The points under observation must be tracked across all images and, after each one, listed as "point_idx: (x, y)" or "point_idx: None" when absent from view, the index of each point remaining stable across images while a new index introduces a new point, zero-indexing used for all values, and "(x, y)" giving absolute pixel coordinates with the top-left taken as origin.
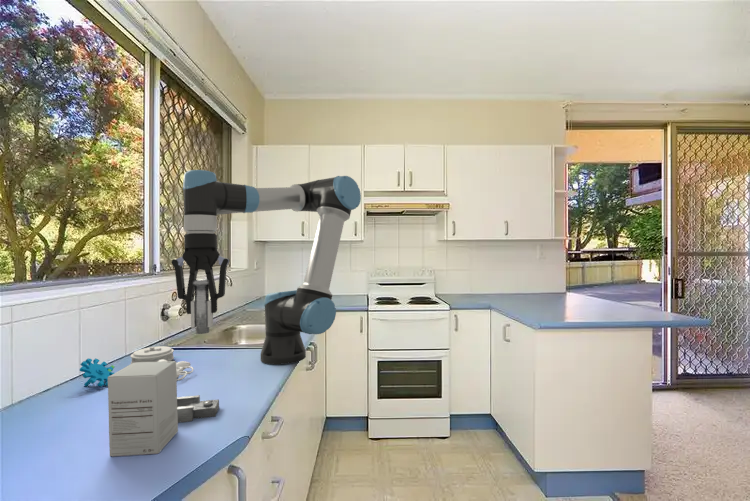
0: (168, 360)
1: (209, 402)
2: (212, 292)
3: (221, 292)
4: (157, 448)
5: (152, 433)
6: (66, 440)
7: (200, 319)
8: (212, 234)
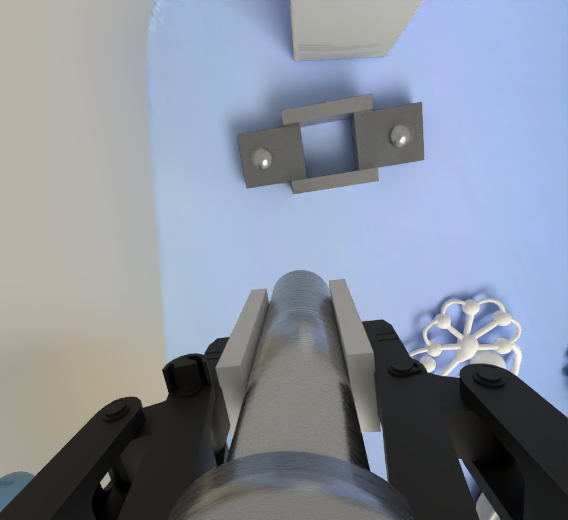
0: (482, 498)
1: (255, 153)
2: (175, 428)
3: (92, 430)
4: None
5: None
6: (530, 36)
7: (296, 294)
8: None
